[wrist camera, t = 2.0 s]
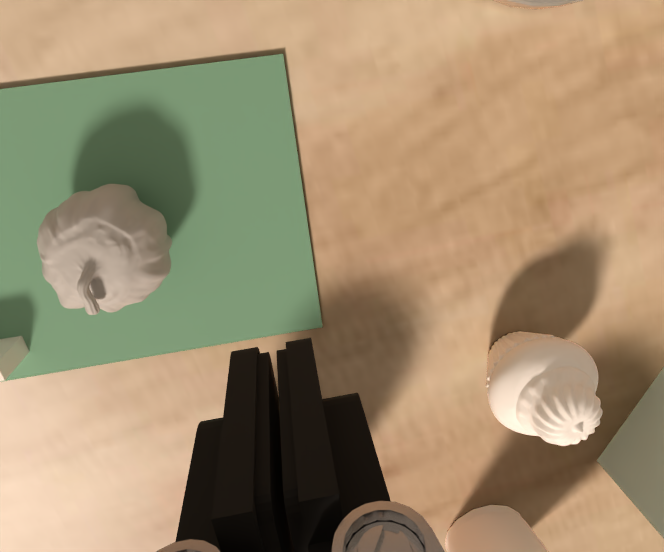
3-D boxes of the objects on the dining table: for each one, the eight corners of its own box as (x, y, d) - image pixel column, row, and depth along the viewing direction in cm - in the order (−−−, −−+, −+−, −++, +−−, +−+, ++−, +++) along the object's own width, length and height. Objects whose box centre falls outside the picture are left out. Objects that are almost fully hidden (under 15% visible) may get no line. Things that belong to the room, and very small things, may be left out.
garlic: (155, 305, 24) (128, 361, 19) (46, 264, 22) (-12, 315, 18) (200, 205, 22) (182, 240, 18) (85, 153, 21) (31, 176, 16)
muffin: (567, 367, 30) (649, 447, 23) (481, 407, 30) (538, 496, 24) (546, 292, 27) (631, 359, 21) (451, 336, 28) (507, 415, 21)
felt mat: (282, 53, 20) (283, 53, 20) (322, 325, 26) (322, 327, 26) (-359, 134, 18) (-365, 134, 18) (-163, 407, 24) (-167, 409, 24)
